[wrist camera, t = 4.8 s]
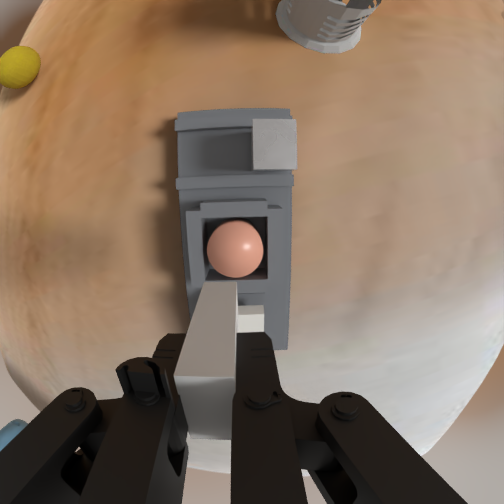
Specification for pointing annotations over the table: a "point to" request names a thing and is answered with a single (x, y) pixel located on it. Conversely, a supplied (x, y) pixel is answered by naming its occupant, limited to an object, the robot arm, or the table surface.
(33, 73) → the lemon
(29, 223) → the table surface
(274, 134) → the slide switch
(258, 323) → the rocker switch
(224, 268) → the push button
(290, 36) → the french press
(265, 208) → the panel
